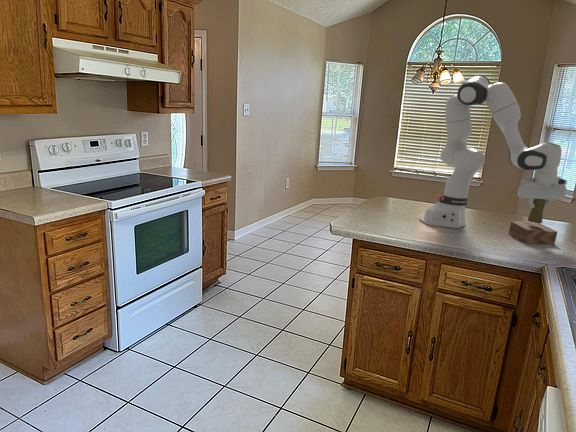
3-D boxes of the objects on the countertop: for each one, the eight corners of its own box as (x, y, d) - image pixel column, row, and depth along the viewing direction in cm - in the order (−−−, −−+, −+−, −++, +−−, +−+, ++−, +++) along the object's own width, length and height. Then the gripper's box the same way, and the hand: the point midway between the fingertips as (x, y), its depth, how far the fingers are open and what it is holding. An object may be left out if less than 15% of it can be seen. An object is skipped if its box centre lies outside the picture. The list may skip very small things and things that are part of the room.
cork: (544, 223, 193) (549, 200, 190) (530, 222, 194) (535, 199, 191) (539, 220, 199) (544, 197, 196) (525, 218, 200) (530, 196, 197)
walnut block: (523, 242, 191) (526, 229, 190) (508, 233, 205) (511, 221, 203) (554, 244, 192) (557, 231, 190) (537, 235, 205) (539, 223, 204)
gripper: (525, 178, 187) (519, 208, 191) (571, 181, 188) (563, 211, 191) (518, 176, 194) (512, 205, 197) (562, 178, 194) (555, 207, 197)
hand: (537, 208), depth 194 cm, fingers closed on cork, 4 cm apart
